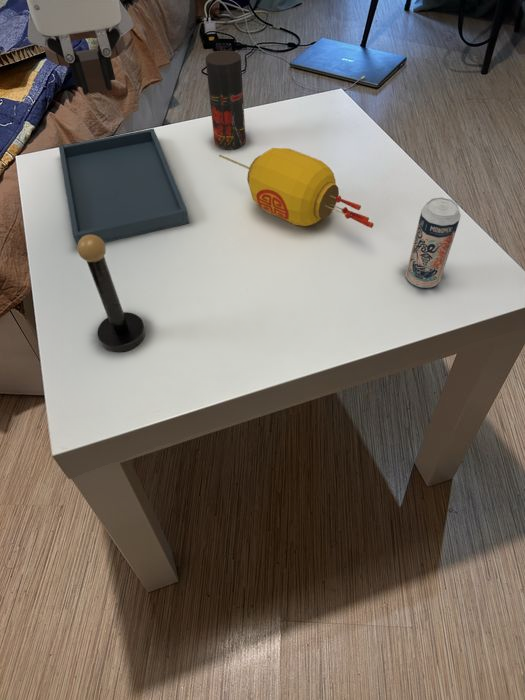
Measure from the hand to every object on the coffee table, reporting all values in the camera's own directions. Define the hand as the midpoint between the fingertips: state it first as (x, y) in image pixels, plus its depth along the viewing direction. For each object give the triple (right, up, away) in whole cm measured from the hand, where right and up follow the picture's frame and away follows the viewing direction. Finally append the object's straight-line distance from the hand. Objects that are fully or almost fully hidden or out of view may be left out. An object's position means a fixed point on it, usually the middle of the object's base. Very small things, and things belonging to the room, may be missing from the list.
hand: (96, 87), depth 69 cm
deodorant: (+16, +5, +31) cm, 35 cm away
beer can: (+44, -25, +5) cm, 51 cm away
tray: (-3, -7, +22) cm, 23 cm away
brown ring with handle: (-3, +6, +5) cm, 9 cm away
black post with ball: (+3, -33, 0) cm, 33 cm away
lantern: (+26, -13, +16) cm, 33 cm away
